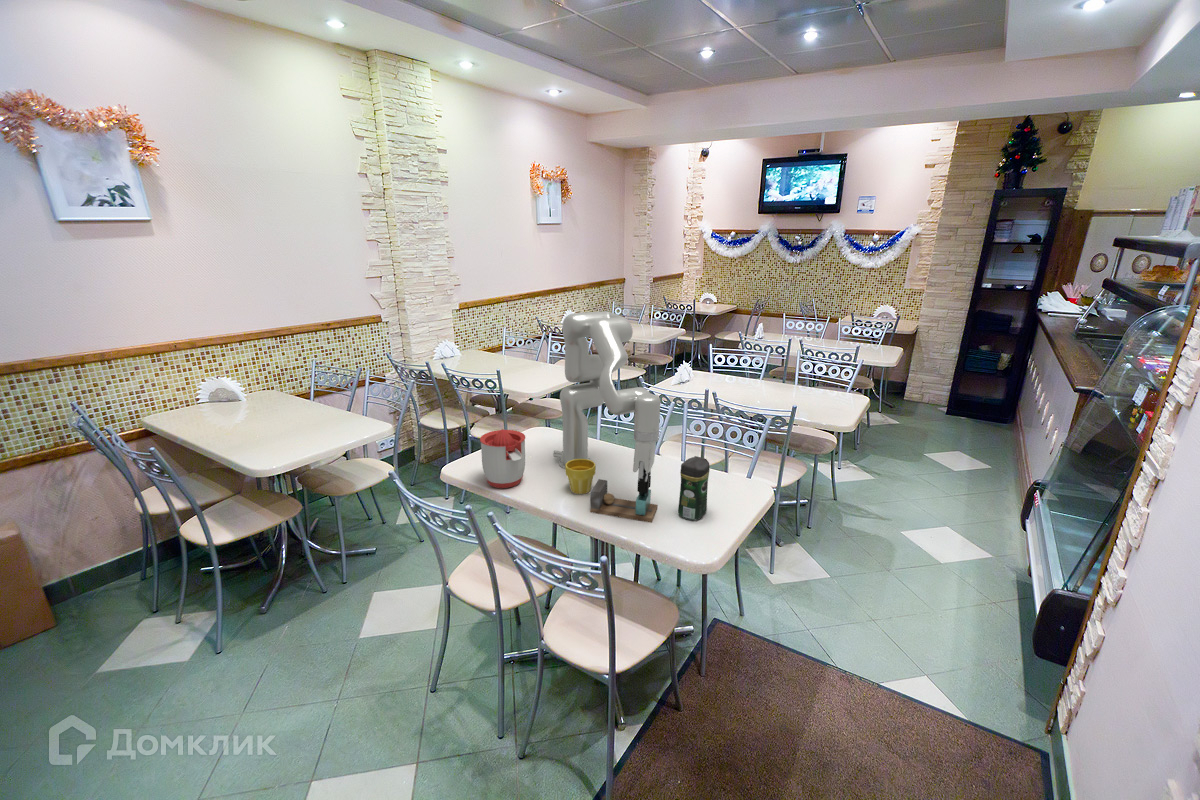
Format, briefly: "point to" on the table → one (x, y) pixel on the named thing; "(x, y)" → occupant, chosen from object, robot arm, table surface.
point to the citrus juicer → (503, 457)
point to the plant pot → (580, 475)
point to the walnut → (608, 498)
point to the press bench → (617, 505)
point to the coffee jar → (693, 488)
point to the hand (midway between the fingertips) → (643, 488)
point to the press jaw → (643, 501)
